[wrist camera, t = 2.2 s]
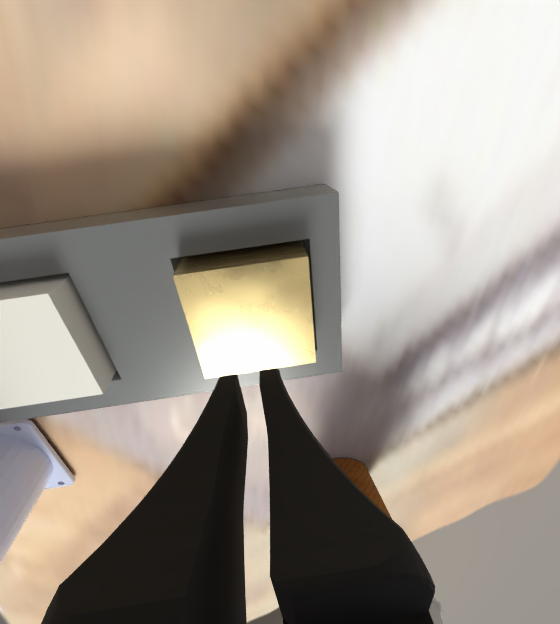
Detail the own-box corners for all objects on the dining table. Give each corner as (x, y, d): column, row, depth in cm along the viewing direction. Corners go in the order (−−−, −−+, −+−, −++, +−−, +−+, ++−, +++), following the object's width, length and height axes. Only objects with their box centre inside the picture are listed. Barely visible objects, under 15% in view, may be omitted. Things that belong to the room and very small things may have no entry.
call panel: (28, 389, 22) (-2, 423, 20) (-79, 239, 17) (-140, 258, 14) (331, 344, 23) (341, 371, 20) (324, 184, 17) (338, 192, 14)
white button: (23, 374, 20) (-11, 411, 17) (-39, 285, 17) (-93, 313, 14) (122, 360, 20) (103, 394, 17) (79, 268, 17) (47, 293, 14)
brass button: (210, 347, 20) (205, 378, 17) (184, 254, 17) (172, 275, 14) (307, 333, 20) (315, 362, 17) (299, 237, 17) (308, 256, 14)
